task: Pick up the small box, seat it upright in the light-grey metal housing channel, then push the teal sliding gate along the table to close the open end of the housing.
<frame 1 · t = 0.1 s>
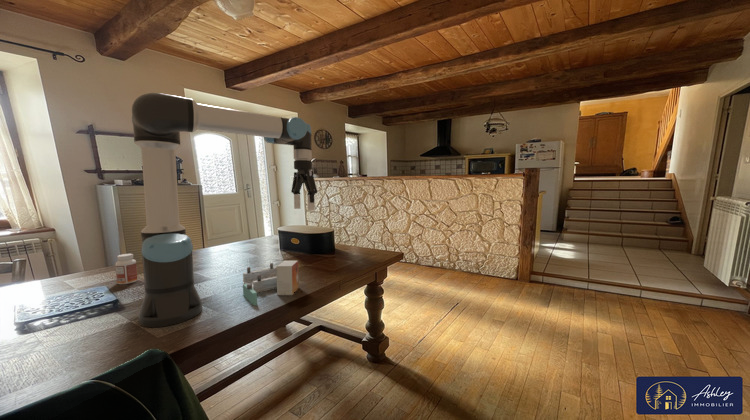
hand: (304, 209, 122), 28 cm above the table, fingers open, 13 cm apart
small box: (288, 292, 102), on the table
housing: (266, 284, 109), on the table
gate: (249, 292, 94), point 3 cm above the table, slide at 0.0 cm
pill bottle: (127, 282, 112), on the table
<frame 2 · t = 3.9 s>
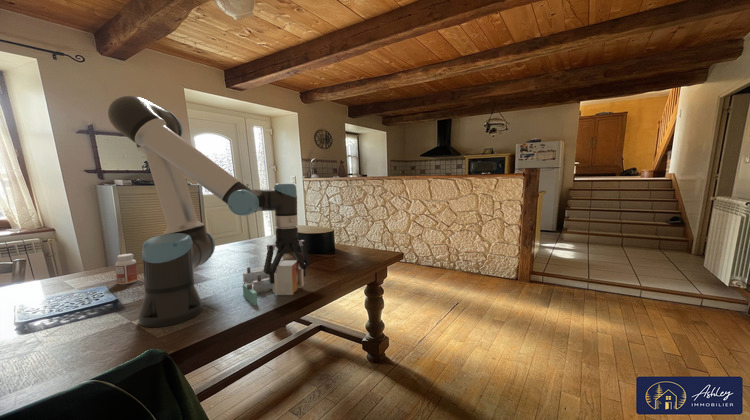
hand: (288, 288, 102), 1 cm above the table, fingers closed on small box, 9 cm apart
small box: (288, 291, 102), on the table, touching gripper
everything else where it was.
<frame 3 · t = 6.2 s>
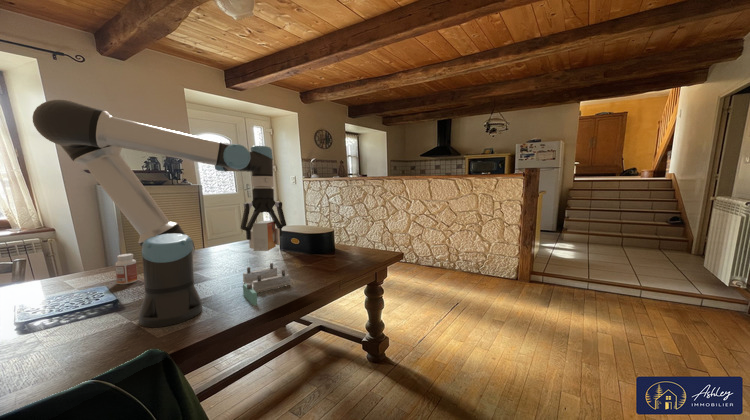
hand: (265, 246, 108), 15 cm above the table, fingers closed on small box, 9 cm apart
small box: (265, 249, 108), point 14 cm above the table, touching gripper
everything else where it was.
when the fingers open (3 cm above the table, at t = 8.7 s): small box drops 1 cm, resting on housing.
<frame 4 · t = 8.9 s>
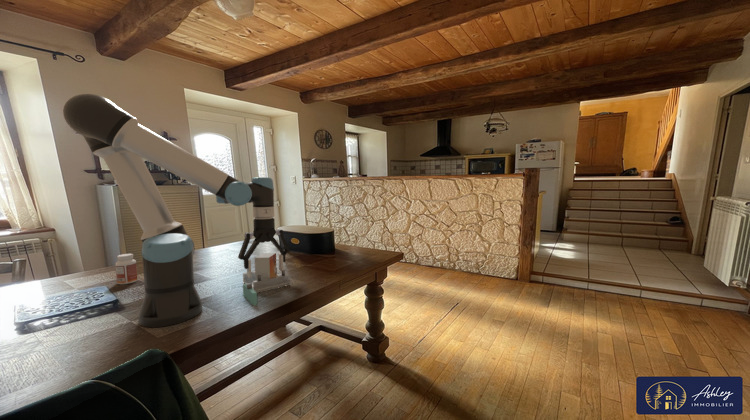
hand: (265, 273, 109), 4 cm above the table, fingers open, 11 cm apart
small box: (266, 282, 109), point 1 cm above the table, touching housing
everything else where it was.
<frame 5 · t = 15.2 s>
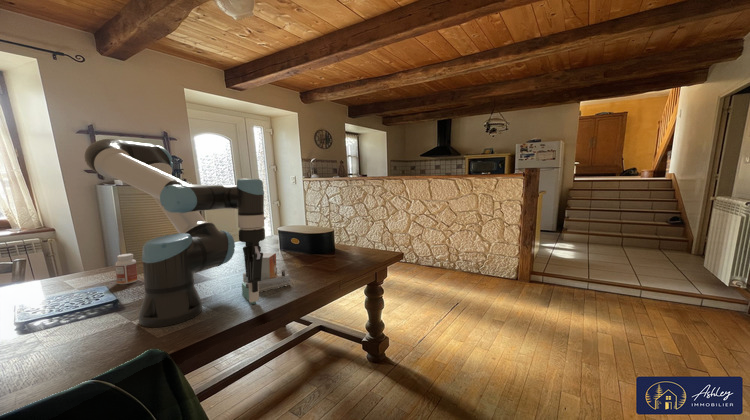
hand: (254, 300, 90), 1 cm above the table, fingers closed
gate: (248, 291, 95), point 3 cm above the table, slide at 1.3 cm, touching gripper
everything else where it was.
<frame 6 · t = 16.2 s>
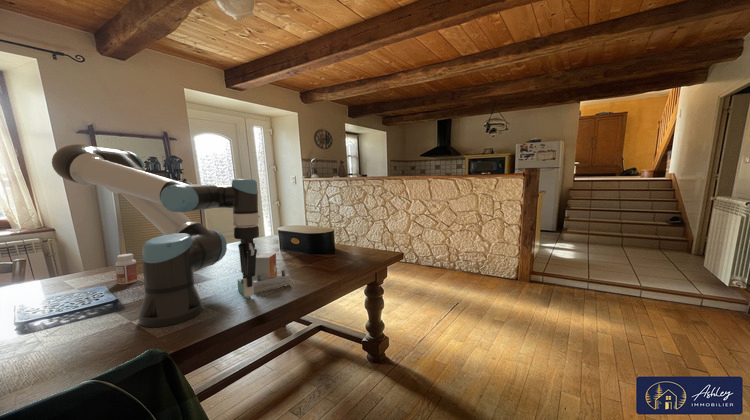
hand: (248, 295, 95), 1 cm above the table, fingers closed
gate: (243, 286, 99), point 3 cm above the table, slide at 7.0 cm, touching gripper
everything else where it was.
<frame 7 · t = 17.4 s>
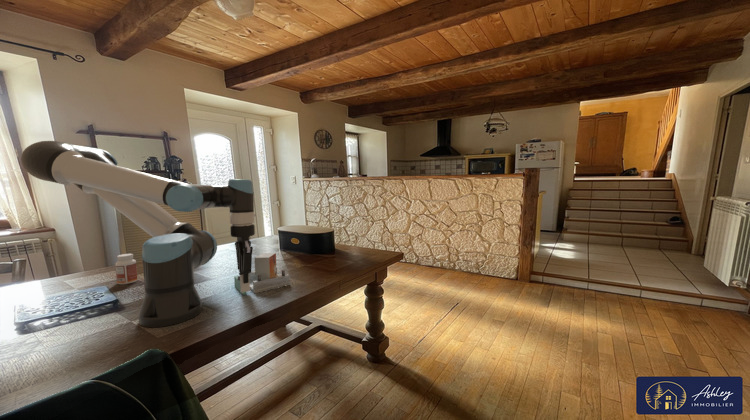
hand: (245, 291, 98), 1 cm above the table, fingers closed
gate: (240, 283, 103), point 3 cm above the table, slide at 11.5 cm, touching gripper
everything else where it was.
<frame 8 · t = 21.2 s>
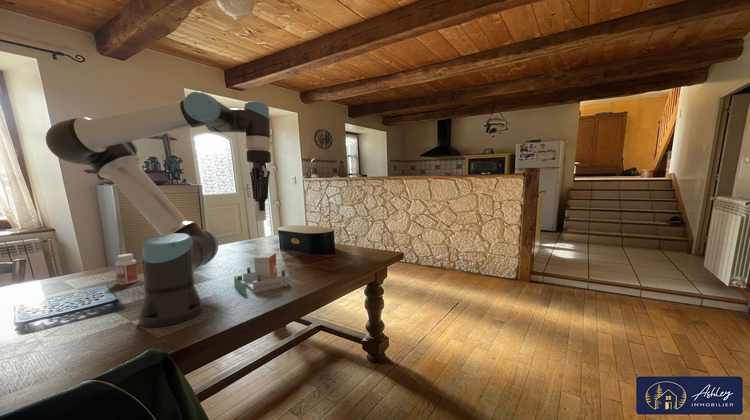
hand: (261, 220, 96), 26 cm above the table, fingers closed
gate: (240, 283, 103), point 3 cm above the table, slide at 11.7 cm
everything else where it was.
at the end: small box 0.2 cm from the housing (horizontally); small box tilted 0°; gate slide at 11.7 cm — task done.
